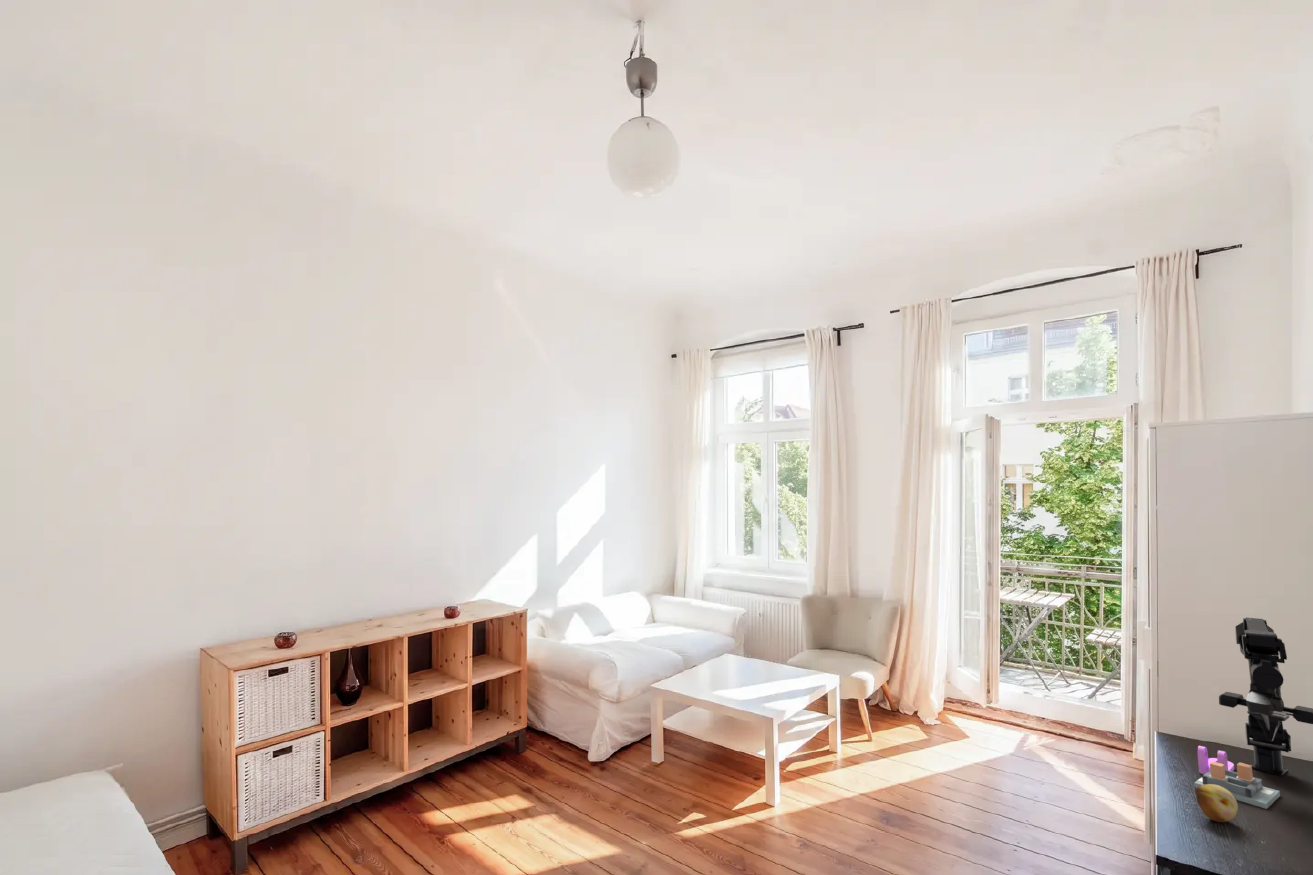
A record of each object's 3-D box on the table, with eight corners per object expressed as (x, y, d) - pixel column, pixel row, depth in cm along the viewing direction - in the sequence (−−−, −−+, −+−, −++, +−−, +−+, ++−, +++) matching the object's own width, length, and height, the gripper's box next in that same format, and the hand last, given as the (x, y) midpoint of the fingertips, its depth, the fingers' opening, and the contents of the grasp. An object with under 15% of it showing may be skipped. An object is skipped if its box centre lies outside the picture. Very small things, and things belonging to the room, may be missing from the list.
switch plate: (1209, 775, 173) (1208, 763, 173) (1279, 795, 161) (1278, 782, 161) (1194, 787, 166) (1193, 774, 166) (1266, 808, 154) (1265, 795, 155)
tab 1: (1213, 780, 167) (1211, 760, 167) (1228, 784, 164) (1226, 764, 165) (1209, 783, 165) (1207, 763, 165) (1224, 787, 163) (1222, 767, 163)
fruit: (1199, 823, 148) (1196, 787, 149) (1194, 808, 155) (1192, 774, 155) (1242, 832, 143) (1239, 796, 144) (1236, 817, 150) (1233, 782, 151)
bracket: (1225, 780, 170) (1223, 753, 171) (1199, 773, 175) (1197, 747, 175) (1236, 767, 178) (1234, 742, 179) (1210, 761, 183) (1208, 736, 183)
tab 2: (1240, 781, 166) (1238, 761, 166) (1255, 785, 164) (1253, 765, 164) (1236, 784, 164) (1234, 764, 165) (1251, 788, 162) (1250, 768, 162)
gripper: (1210, 676, 171) (1215, 736, 170) (1306, 694, 156) (1313, 759, 154) (1223, 670, 178) (1228, 727, 176) (1317, 686, 162) (1323, 749, 161)
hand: (1270, 740), depth 167 cm, fingers closed
